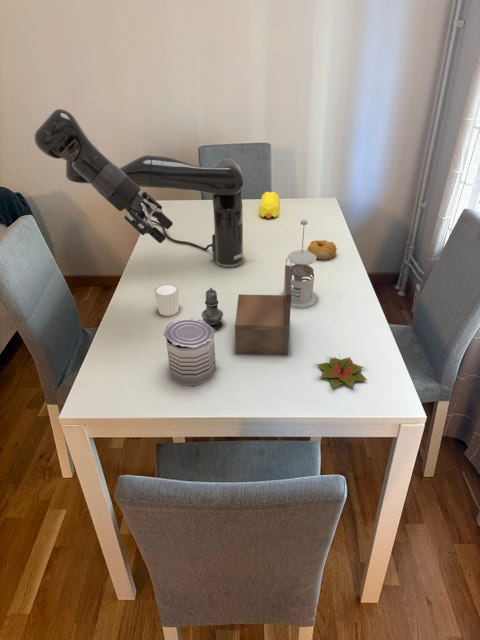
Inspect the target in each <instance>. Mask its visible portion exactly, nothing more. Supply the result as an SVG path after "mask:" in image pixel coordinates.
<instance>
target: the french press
mask: <svg viewBox="0 0 480 640" xmlns="http://www.w3.org/2000/svg"><path fill="white" fill-rule="evenodd" d="M300 225H301V226H303V228H302V240H301V242H302V243H301V249H298V250H294V251H291V252H289V253H288V254H287V258H286V260H285V265H288V264H287V263H288V262H287V261H289V265H290V278H291V307H293V308H299V309H301V308H308V307H310V306H312V305H314V304H315V302H316V296H315V295H314V283H315V273H314V268H313V267H312V266H311V265H313V264H314V263H315V262H316V261H317V258H316V256H315V255H314V254H313V253H311V252H309V251H307V250H305V249H304V240H305V239H304V237H305V226H306V225H308V220H307V219H305V218H303V219H301V220H300ZM292 264H293V265H292Z"/></svg>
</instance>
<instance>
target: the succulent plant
mask: <svg viewBox="0 0 480 640" xmlns="http://www.w3.org/2000/svg"><path fill="white" fill-rule="evenodd" d="M338 356H339V357H341V355H340V354H338ZM316 365H317V366H318V367H319V368H320V369H321V370H322V371H323V372H322V373H321V375H320V376H319V378H329V382H330V384H331V387H332V389H334V388H336V387H339V386H342V385H343V384H346V385H348V386H349V387H351V388H352V389H354V387H355V381H357V382H359V381H368V379H367V378H366V377H365V376H364V374H362V373H361V372H360V371H361V370H362V369H363V368H364V366H361V365H358V364H356V363H354V361H353V360H352V359H351V357H350V356H349V357H345V358H342V359H341V358H337V357H336V356H334V358H333V357H330V359H329V362H322V363H317V364H316Z"/></svg>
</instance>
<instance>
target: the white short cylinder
mask: <svg viewBox="0 0 480 640" xmlns="http://www.w3.org/2000/svg"><path fill="white" fill-rule="evenodd" d="M153 292H154V297H155V301H156V306H157V310H158V313H159V314H160V315H161V316H164V317H170V316H174V315H176V314H177V313H178V312H179V298H180V297H179V287H178V286H177V285H176V284H174V283H163V284H160V285H157V286H156V287H155V288H154V290H153Z"/></svg>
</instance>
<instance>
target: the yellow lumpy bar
mask: <svg viewBox="0 0 480 640" xmlns="http://www.w3.org/2000/svg"><path fill="white" fill-rule="evenodd" d="M258 214H259V215H260V217H262V218H264V217H265V218H267V219H270V218H272V217H273V218H274V219H275V218H276V217H278V215H279V214H280V197H279V194H277V192H275V191H265V192H264V193H263V194H262V195H261V200H260V206H259V212H258Z"/></svg>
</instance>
